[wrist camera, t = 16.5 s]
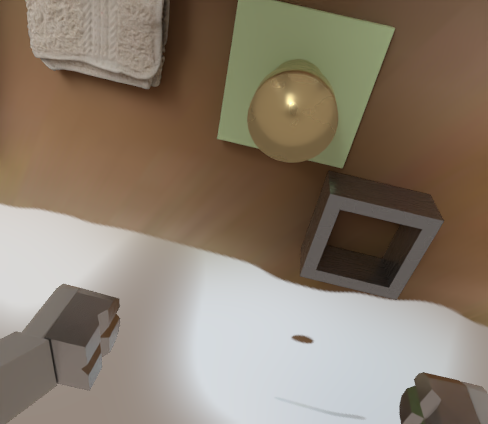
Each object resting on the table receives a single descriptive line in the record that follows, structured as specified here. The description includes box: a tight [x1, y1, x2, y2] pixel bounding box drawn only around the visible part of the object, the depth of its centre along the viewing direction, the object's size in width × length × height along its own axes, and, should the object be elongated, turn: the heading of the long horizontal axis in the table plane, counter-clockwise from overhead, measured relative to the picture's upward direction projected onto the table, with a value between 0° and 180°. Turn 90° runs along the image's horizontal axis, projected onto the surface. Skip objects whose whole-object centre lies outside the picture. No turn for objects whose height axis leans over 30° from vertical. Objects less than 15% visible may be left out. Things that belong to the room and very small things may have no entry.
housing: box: [300, 171, 444, 300], centre depth 37 cm, size 10×10×4 cm
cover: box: [247, 59, 338, 163], centre depth 28 cm, size 6×6×8 cm
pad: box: [217, 0, 395, 168], centre depth 32 cm, size 12×12×1 cm
